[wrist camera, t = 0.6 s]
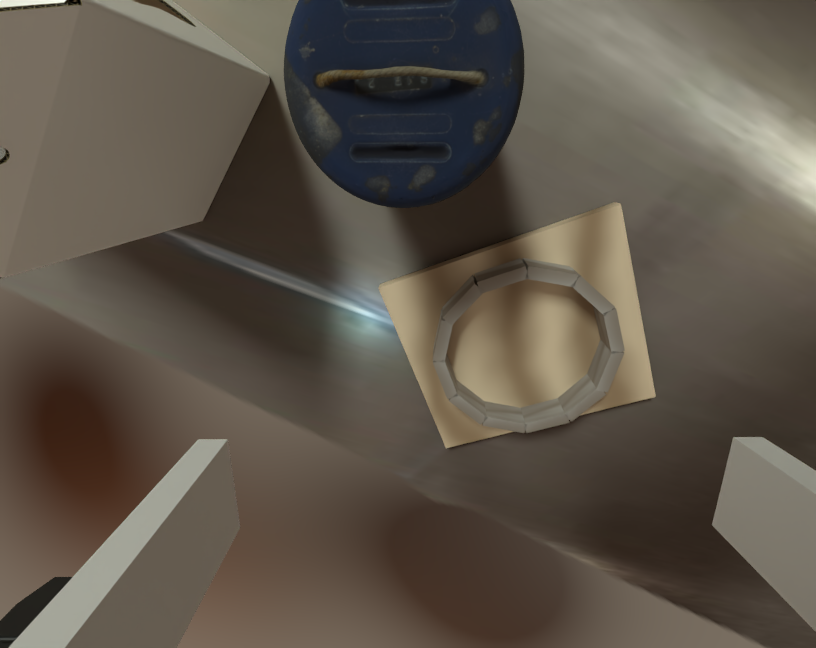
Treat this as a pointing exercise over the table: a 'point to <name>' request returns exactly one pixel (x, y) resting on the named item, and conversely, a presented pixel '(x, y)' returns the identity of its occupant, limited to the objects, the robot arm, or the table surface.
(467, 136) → the canister
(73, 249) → the gable box
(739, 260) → the table surface
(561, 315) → the ring holder board
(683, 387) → the table surface
